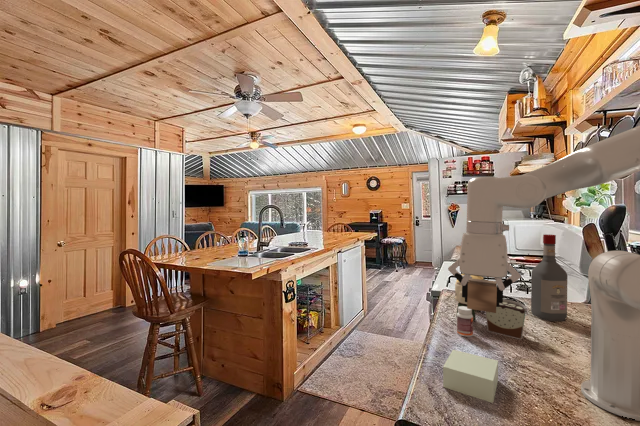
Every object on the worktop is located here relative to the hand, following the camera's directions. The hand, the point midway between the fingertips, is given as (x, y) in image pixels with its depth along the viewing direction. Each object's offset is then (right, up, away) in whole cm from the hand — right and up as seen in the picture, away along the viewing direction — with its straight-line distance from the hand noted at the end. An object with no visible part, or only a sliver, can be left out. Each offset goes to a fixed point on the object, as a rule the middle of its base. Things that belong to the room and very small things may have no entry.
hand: (481, 302), depth 74 cm
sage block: (-4, -18, -3) cm, 19 cm away
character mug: (+13, -17, +36) cm, 41 cm away
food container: (+21, -17, +25) cm, 37 cm away
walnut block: (0, -1, 0) cm, 1 cm away
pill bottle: (+7, -17, +24) cm, 30 cm away
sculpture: (+28, -16, +62) cm, 70 cm away
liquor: (+44, -17, +38) cm, 61 cm away
